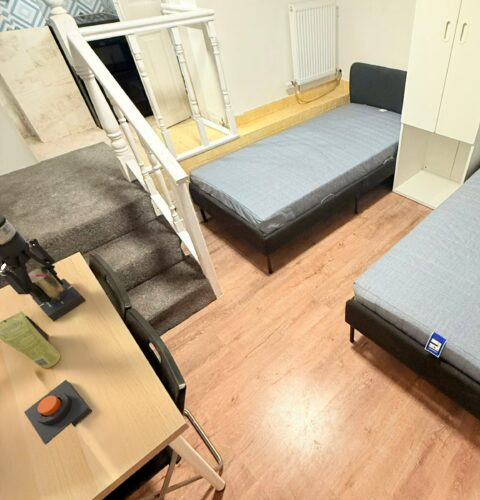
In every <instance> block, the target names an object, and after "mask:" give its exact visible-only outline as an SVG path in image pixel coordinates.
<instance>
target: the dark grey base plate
mask: <svg viewBox="0 0 480 500" xmlns="http://www.w3.org/2000/svg"><path fill="white" fill-rule="evenodd" d="M48 396H55V397H57V398H58V399H60V400H61V407H60V408H59V410H58V411H57V412H55V413H54V414H53V415H50V416H45V415H43V414H41V413H40V412H38V409H37V408H38V405H39V403H40V402H41V401H42V400H43V399H44V398H46V397H48ZM91 412H93V410H92V409H91V408H90V406H89V405H88V403H87V402H86V401H85V400H84V399H83V397H82V395H80V393H79V392H78V391H77V390H76V388H75V387H74V386H73V384H71V382H70V381H68V380H67V379H65V380H64V381H62V382H60V384H58V385H57V386H56V387H54V388H53V389H51V390H50V391H48V393H46V394H45V395H44V396H42V397H41V398H40V399H38V400H37V401H36V402H35V403H34V404H32V405H31V406H29V407H28V408H27V409H26V410H24V411H23V413H24V414H25V416H26V417H27V419H28V420H29V422H30V424H31V425H32V427H33V428H34V430H35V431H36V433H37V434H38V436H39V438H40V439H41V440H42V442H43V444H44V445H47V444H48V443H50V442H51V441H52V440H53V439H54V438H55V437H57V436H58V434H60V433H61V432H62V431H64V430H65V429H66V428H67V427H68V426H69V425H72V426H73V427H75V426H76V425H78V424H79V423H80V422H81V421H82V420H84V419H85V418H86V417H87V416H88V415H90V414H91Z"/></svg>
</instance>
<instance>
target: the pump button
mask: <svg viewBox="0 0 480 500" xmlns="http://www.w3.org/2000/svg"><path fill="white" fill-rule="evenodd" d="M60 407H61V400H60V399H58V398H57V397H55V396H48V397H46V398H44V399H43V400H42V401H41V402H40V403H39V405H38V408H37V409H38V412H40V413H41V414H43V415H45V416H50V415H53V414H54V413H55V412H57V411H58V410H59V408H60Z"/></svg>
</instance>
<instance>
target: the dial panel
mask: <svg viewBox="0 0 480 500" xmlns="http://www.w3.org/2000/svg"><path fill="white" fill-rule="evenodd" d="M60 280H61V281H62V282H63V283H64V284H63V285H62V286H63V287H64V289H65V290H66V291H67V294H66V296H65V297H64V298H63V299H62V300H60V301H59V302H56V303H53V304H48V303H46V302H40V301H39V300H38V299H37V298H33V297H32V296H31V299H32V300H33V301H34V302H35V304H36V305H37V306H38V308H40V309H41V310H42V312H43V313H44V314H45V315H46V316H47V317H48V318H49V320H51V321H52V322H56V321H57V320H59V319H60V318H62V317H63V316H65V315H66V314H68V313H69V312H71V311H73V310H74V309H75V308H77V307H78V306H80V305H81V304H83V303H84V302H86V298H84V296H83V295H82V294H81V293H80V292H79V291H78V290H77V289H76V288H75V287H74V286H73V285H72V284H71V283H70V282H68V281H67V279H65V278H61V279H60Z"/></svg>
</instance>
